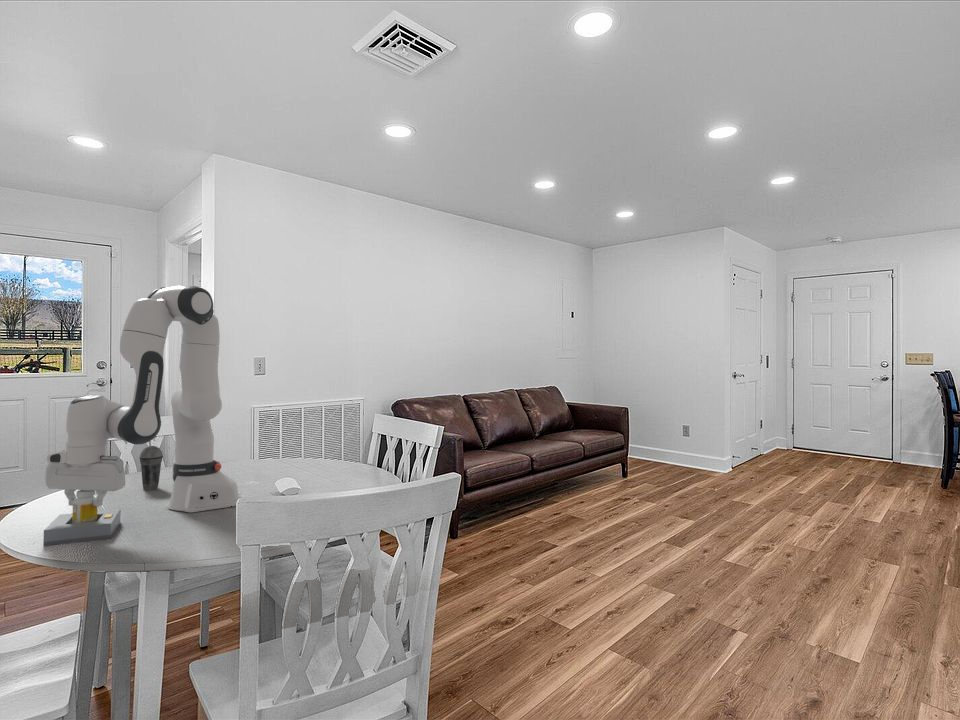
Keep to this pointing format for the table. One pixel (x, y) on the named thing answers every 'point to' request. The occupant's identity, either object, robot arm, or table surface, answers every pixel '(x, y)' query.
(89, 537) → the dock
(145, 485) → the beverage cup
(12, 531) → the table surface
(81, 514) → the supplement bottle
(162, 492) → the table surface
